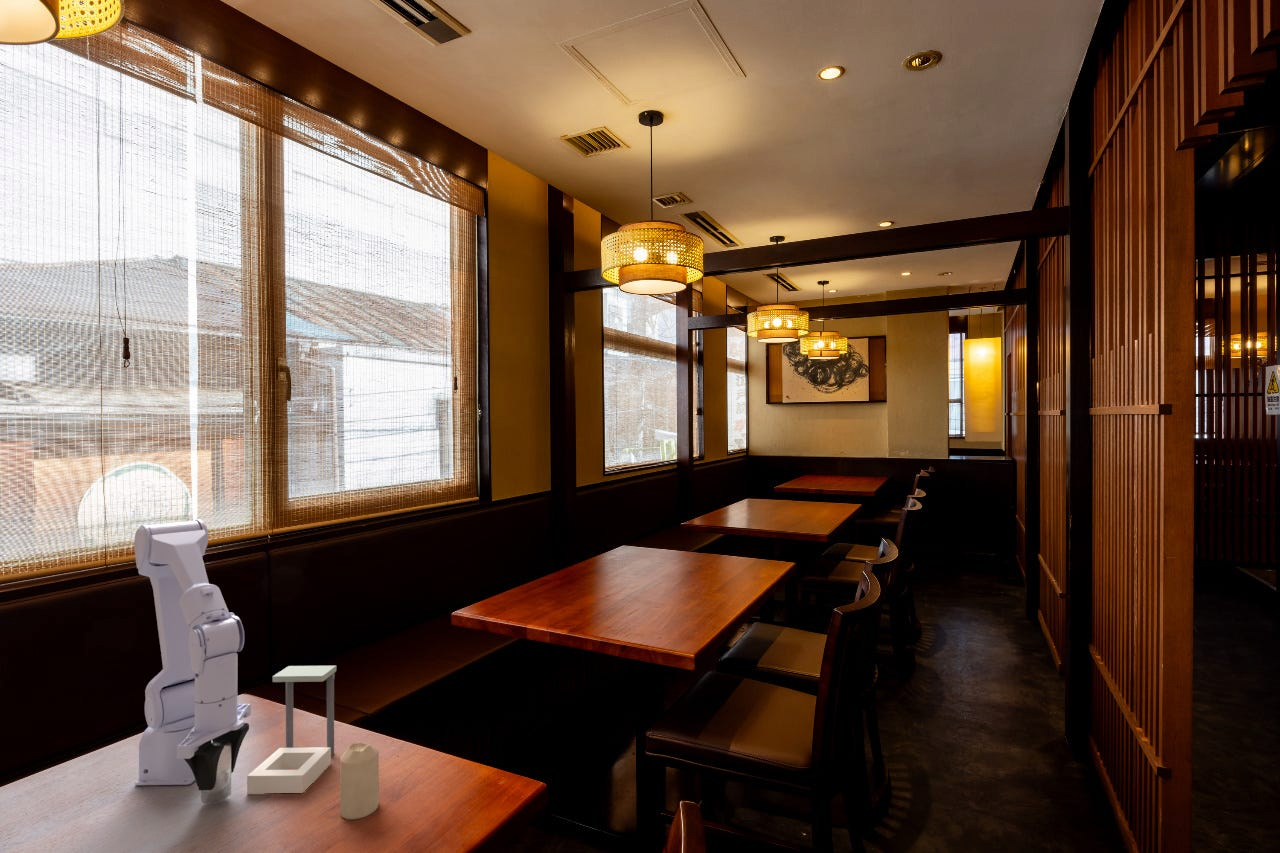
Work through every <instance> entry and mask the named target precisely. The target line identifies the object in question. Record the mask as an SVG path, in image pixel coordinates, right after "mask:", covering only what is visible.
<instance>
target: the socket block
mask: <svg viewBox="0 0 1280 853" xmlns="http://www.w3.org/2000/svg"><path fill="white" fill-rule="evenodd" d="M331 764H332V755H331V747H327V746H325V747H323V746H322V747H321V746H317V747H314V746H313V747H312V746H311V747H310V746H309V747H293V748H286V747H279V748H277V749H276V750H275V751H274V752H273V753H272V754H271V755H270V756H268V757H266V759H265V760H264V761H263V762H261V763H260V764H259V765H258V766H257V767H256V768H254V769H253V770H252V771H251V772H250V773H248V774H247V776H246V794H247V795H265V794H264V793H303V792H304V791H305V790H306V789H307V788H308V787H309V786H310V785H311V784H312V783H313V784H314V782H316V780H317V779H318V778H319V777H321V775H322V774H324V772H325V771H326V770H327V769H328V768H329V767H330V766H331ZM328 766H329V767H328ZM289 769H298V770H289ZM324 770H325V771H324ZM313 784H312V785H313ZM312 785H311V786H312ZM309 788H310V787H309ZM309 788H308V789H309ZM308 789H307V790H308ZM307 790H306V791H307ZM306 791H305V792H306ZM305 792H304V793H305ZM304 793H303V794H304Z"/></svg>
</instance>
